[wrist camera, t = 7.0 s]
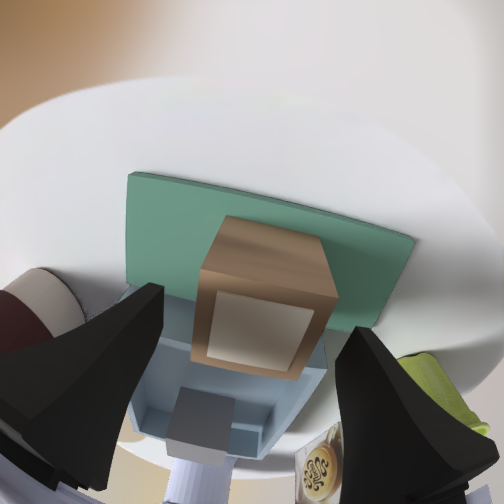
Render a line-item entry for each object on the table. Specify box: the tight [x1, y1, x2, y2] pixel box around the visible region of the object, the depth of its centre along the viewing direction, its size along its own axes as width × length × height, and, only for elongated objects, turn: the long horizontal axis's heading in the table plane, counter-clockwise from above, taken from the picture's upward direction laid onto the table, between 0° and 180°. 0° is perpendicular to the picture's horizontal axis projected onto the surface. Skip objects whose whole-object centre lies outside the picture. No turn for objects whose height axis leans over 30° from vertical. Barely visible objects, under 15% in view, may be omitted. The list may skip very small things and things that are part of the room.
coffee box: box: [295, 422, 344, 504], centre depth 17 cm, size 9×6×16 cm
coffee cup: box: [0, 268, 85, 354], centre depth 11 cm, size 10×10×15 cm
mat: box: [126, 172, 415, 332], centre depth 14 cm, size 6×15×1 cm, turn 78°
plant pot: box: [397, 353, 490, 437], centre depth 15 cm, size 9×9×9 cm
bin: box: [117, 285, 328, 460], centre depth 18 cm, size 15×12×4 cm
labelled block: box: [190, 215, 339, 381], centre depth 12 cm, size 4×4×5 cm
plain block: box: [165, 386, 235, 467], centre depth 19 cm, size 4×4×5 cm
